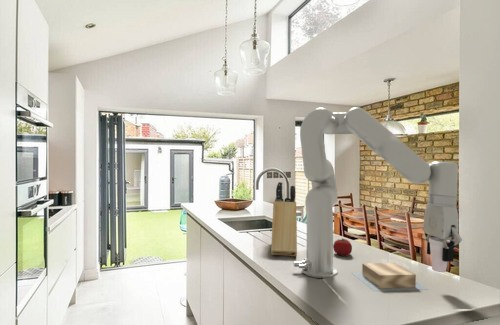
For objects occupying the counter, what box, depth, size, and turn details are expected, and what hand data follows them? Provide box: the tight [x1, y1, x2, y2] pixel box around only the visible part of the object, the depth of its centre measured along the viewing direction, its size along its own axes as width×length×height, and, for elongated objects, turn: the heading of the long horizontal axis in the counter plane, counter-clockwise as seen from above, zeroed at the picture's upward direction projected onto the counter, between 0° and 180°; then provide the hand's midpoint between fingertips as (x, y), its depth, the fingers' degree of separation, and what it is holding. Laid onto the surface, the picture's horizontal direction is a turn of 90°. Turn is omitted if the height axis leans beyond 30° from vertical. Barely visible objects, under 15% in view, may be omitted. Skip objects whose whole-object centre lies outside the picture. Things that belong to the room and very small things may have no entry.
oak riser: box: [361, 262, 417, 288], centre depth 104 cm, size 12×12×4 cm
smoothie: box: [429, 237, 450, 273], centre depth 97 cm, size 6×6×14 cm
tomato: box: [333, 238, 353, 257], centre depth 137 cm, size 8×8×7 cm
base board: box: [351, 272, 428, 292], centre depth 104 cm, size 18×16×1 cm
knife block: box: [270, 181, 298, 257], centre depth 147 cm, size 11×35×31 cm, turn 173°
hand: (439, 257), depth 97 cm, fingers closed on smoothie, 6 cm apart
